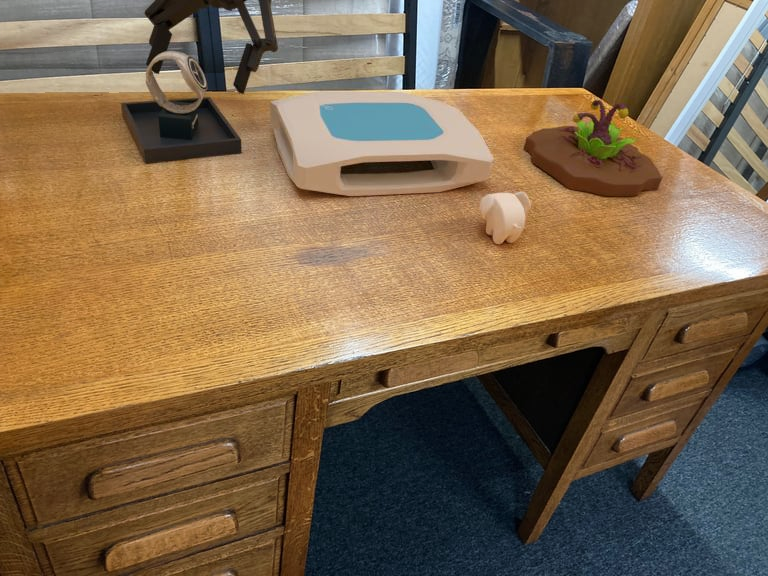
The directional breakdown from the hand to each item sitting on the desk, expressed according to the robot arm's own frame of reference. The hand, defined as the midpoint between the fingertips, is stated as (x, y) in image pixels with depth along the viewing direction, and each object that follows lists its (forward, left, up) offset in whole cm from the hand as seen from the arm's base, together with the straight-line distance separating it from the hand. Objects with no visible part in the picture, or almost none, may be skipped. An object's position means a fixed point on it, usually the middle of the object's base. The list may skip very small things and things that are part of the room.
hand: (195, 79), depth 91 cm
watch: (+4, -3, -6) cm, 8 cm away
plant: (+29, +56, -7) cm, 63 cm away
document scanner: (+18, +22, -7) cm, 29 cm away
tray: (+4, -3, -7) cm, 8 cm away
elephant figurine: (+41, +28, -7) cm, 50 cm away
